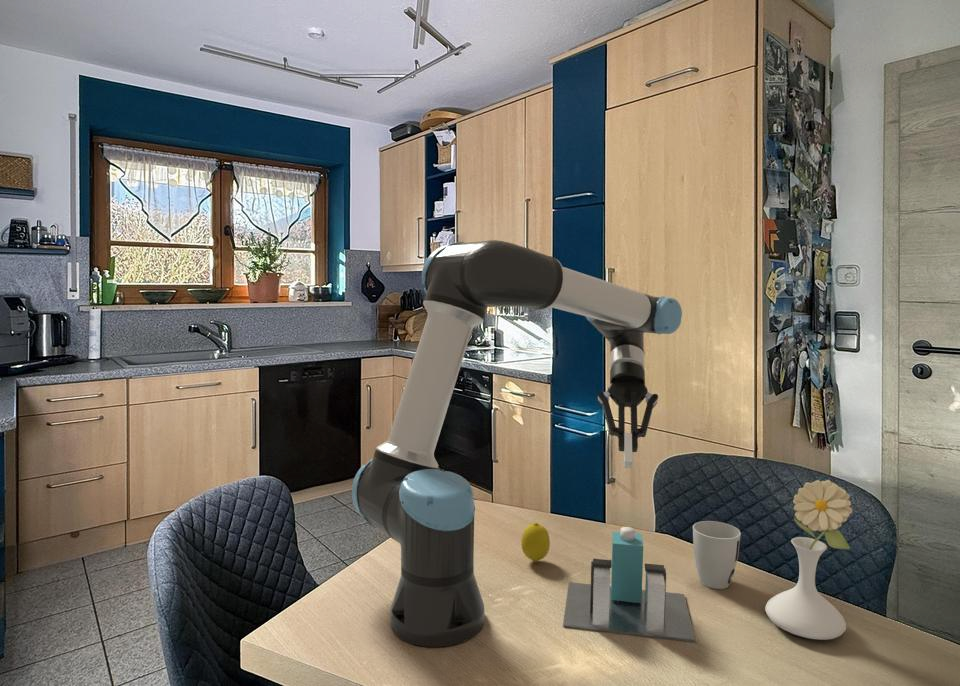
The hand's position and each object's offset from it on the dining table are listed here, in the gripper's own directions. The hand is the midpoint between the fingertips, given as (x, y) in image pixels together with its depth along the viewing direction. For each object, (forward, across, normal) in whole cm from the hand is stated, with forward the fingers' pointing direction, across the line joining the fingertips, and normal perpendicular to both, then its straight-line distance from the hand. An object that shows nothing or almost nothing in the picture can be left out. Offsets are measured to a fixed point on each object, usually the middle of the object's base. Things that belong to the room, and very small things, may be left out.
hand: (628, 464), depth 122 cm
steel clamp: (+29, +1, +3) cm, 29 cm away
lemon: (+19, +18, -7) cm, 27 cm away
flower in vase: (+29, -27, +3) cm, 40 cm away
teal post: (+27, +1, +1) cm, 27 cm away
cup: (+20, -15, -6) cm, 26 cm away
